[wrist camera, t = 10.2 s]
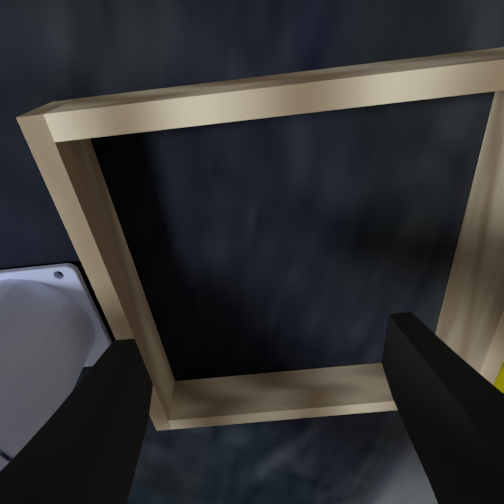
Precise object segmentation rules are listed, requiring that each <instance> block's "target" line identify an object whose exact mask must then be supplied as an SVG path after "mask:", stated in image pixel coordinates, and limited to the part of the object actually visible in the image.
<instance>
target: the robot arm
mask: <svg viewBox="0 0 504 504" xmlns="http://www.w3.org/2000/svg"><path fill="white" fill-rule="evenodd" d="M57 271H59V272H61V273H62V274H63V275H61V274H59V273H58V272H57ZM382 365H383V369H384V372H385V375H386V379H387V382H388V385H389V388H390V391H391V394H392V397H393V400H394V402H395V405H396V407H397V409H398V412H399V414H400V416H401V418H402V421H403V423H404V425H405V428H406V430H407V432H408V434H409V437H410V439H411V441H412V443H413V446H414V448H415V450H416V452H417V455H418V457H419V459H420V461H421V464H422V466H423V468H424V470H425V473H426V475H427V477H428V479H429V482H430V484H431V487H432V489H433V492H434V494H435V497H436V499H437V502H438V504H504V393H502V392H501V391H500V390H499V389H497V388H496V387H495V386H494V385H493V384H491V383H490V382H489V381H488V380H487V379H485V378H484V377H483V376H482V375H481V374H480V373H478V372H477V371H476V370H475V369H474V368H473V367H471V366H470V365H469V364H468V363H467V362H466V361H464V360H463V359H462V358H461V357H460V356H459V355H458V354H456V353H455V352H454V351H453V350H452V349H451V348H450V347H449V346H448V345H446V344H445V343H444V342H443V341H442V340H441V339H440V338H439V337H438V336H437V335H435V334H434V333H433V332H432V331H431V330H430V329H429V328H428V327H427V326H426V325H425V324H424V323H422V322H421V321H420V320H419V319H418V318H417V317H416V316H415V315H414V314H413V313H411V312H408V313H397V314H389V316H388V324H387V331H386V338H385V345H384V352H383V359H382ZM88 366H92V368H91V369H90V370H89V371H88V373H87V374H86V375H85V376H84V378H83V379H82V380H81V381H80V383H79V384H78V385H77V386H76V387H75V389H74V390H73V388H74V386H75V384H76V382H77V380H78V378H79V375H80V373H81V371H82V369H83V367H88ZM152 388H153V383H152V380H151V378H150V375H149V373H148V370H147V368H146V365H145V363H144V360H143V358H142V356H141V353H140V351H139V348H138V346H137V343H136V341H135V338H134V339H123V340H114V341H113V342H112V341H111V338H110V336H109V334H108V332H107V330H106V327H105V325H104V323H103V321H102V319H101V317H100V314H99V312H98V310H97V308H96V306H95V304H94V301H93V299H92V297H91V295H90V293H89V291H88V288H87V286H86V284H85V282H84V280H83V277H82V275H81V273H80V271H79V269H78V268H77V267H76V266H75V265H73V264H70V263H64V264H54V265H45V266H35V267H25V268H16V269H6V270H0V504H127V500H128V496H129V493H130V489H131V485H132V481H133V477H134V473H135V470H136V466H137V462H138V458H139V454H140V450H141V446H142V443H143V439H144V435H145V431H146V427H147V423H148V418H149V411H150V404H151V396H152Z"/></svg>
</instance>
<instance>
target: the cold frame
mask: <svg viewBox="0 0 504 504" xmlns="http://www.w3.org/2000/svg"><path fill="white" fill-rule="evenodd" d="M492 91H495V95H494V99H493V103H492V107H491V111H490V115H489V119H488V123H487V127H486V131H485V135H484V139H483V143H482V147H481V151H480V155H479V159H478V163H477V167H476V171H475V175H474V179H473V183H472V187H471V191H470V196H469V200H468V204H467V208H466V212H465V216H464V220H463V224H462V228H461V232H460V236H459V240H458V244H457V248H456V252H455V256H454V260H453V264H452V268H451V272H450V276H449V280H448V284H447V288H446V292H445V296H444V300H443V304H442V308H441V312H440V316H439V320H438V324H437V328H436V332H435V335H437V336H438V337H439V338H440V339H441V340H442V341H443V342H444V343H445V344H446V345H448V346H449V347H450V348H451V349H452V350H453V351H454V352H455V353H456V354H458V355H459V356H460V357H461V358H462V359H463V360H464V361H466V362H467V363H468V364H469V365H470V366H471V367H473V368H474V369H475V370H476V371H477V372H478V373H480V374H481V375H482V376H483V377H484V378H485V379H487V380H488V381H489V382H490V383H491V384H493V385H494V382H495V380H496V378H497V375H498V373H499V371H500V368H501V366H502V363H503V361H504V47H502V48H494V49H485V50H477V51H469V52H460V53H452V54H444V55H435V56H427V57H419V58H411V59H402V60H394V61H386V62H377V63H369V64H361V65H352V66H344V67H336V68H327V69H319V70H311V71H303V72H294V73H286V74H278V75H269V76H261V77H253V78H244V79H236V80H228V81H219V82H211V83H203V84H195V85H186V86H178V87H170V88H161V89H153V90H145V91H136V92H128V93H120V94H111V95H103V96H95V97H87V98H78V99H70V100H62V101H53V102H51V103H49V104H46V105H44V106H42V107H39V108H37V109H35V110H32V111H30V112H28V113H25V114H23V115H21V116H18V117H16V119H17V121H18V123H19V125H20V128H21V130H22V132H23V134H24V136H25V139H26V141H27V143H28V145H29V148H30V150H31V152H32V154H33V156H34V159H35V161H36V163H37V165H38V168H39V170H40V172H41V174H42V176H43V179H44V181H45V183H46V185H47V188H48V190H49V192H50V194H51V196H52V199H53V201H54V203H55V205H56V208H57V210H58V212H59V214H60V217H61V219H62V221H63V223H64V225H65V228H66V230H67V232H68V234H69V237H70V239H71V241H72V243H73V245H74V248H75V250H76V252H77V254H78V257H79V259H80V261H81V263H82V265H83V268H84V270H85V272H86V274H87V277H88V279H89V281H90V283H91V286H92V288H93V290H94V292H95V294H96V297H97V299H98V301H99V303H100V306H101V308H102V310H103V312H104V314H105V317H106V319H107V321H108V323H109V326H110V328H111V330H112V332H113V334H114V337H115V339H116V340H123V339H134V338H135V341H136V343H137V346H138V348H139V351H140V353H141V356H142V358H143V360H144V363H145V365H146V368H147V370H148V373H149V375H150V378H151V380H152V383H153V388H152V396H151V404H150V411H149V415H150V417H151V419H152V421H153V423H154V426H155V428H156V430H157V431H158V430H169V429H181V428H193V427H205V426H216V425H228V424H240V423H252V422H263V421H275V420H287V419H298V418H310V417H322V416H334V415H345V414H357V413H369V412H381V411H392V410H398V409H397V407H396V405H395V402H394V400H393V397H392V394H391V391H390V388H389V385H388V382H387V379H386V375H385V372H384V369H383V365H382V363H372V364H361V365H350V366H339V367H328V368H317V369H306V370H294V371H283V372H272V373H261V374H250V375H239V376H228V377H217V378H206V379H195V380H184V381H175V379H174V376H173V373H172V371H171V368H170V365H169V362H168V359H167V356H166V353H165V351H164V348H163V345H162V342H161V339H160V336H159V334H158V331H157V328H156V325H155V322H154V319H153V316H152V314H151V311H150V308H149V305H148V302H147V299H146V297H145V294H144V291H143V288H142V285H141V282H140V279H139V277H138V274H137V271H136V268H135V265H134V262H133V259H132V257H131V254H130V251H129V248H128V245H127V242H126V240H125V237H124V234H123V231H122V228H121V225H120V222H119V220H118V217H117V214H116V211H115V208H114V205H113V203H112V200H111V197H110V194H109V191H108V188H107V185H106V183H105V180H104V177H103V174H102V171H101V168H100V165H99V163H98V160H97V157H96V154H95V151H94V148H93V146H92V143H91V140H90V138H96V137H105V136H113V135H122V134H131V133H139V132H148V131H157V130H165V129H174V128H182V127H191V126H200V125H208V124H217V123H225V122H234V121H243V120H251V119H260V118H269V117H277V116H286V115H294V114H303V113H312V112H320V111H329V110H337V109H346V108H355V107H363V106H372V105H380V104H389V103H398V102H406V101H415V100H424V99H432V98H441V97H449V96H458V95H467V94H475V93H484V92H492Z"/></svg>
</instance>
